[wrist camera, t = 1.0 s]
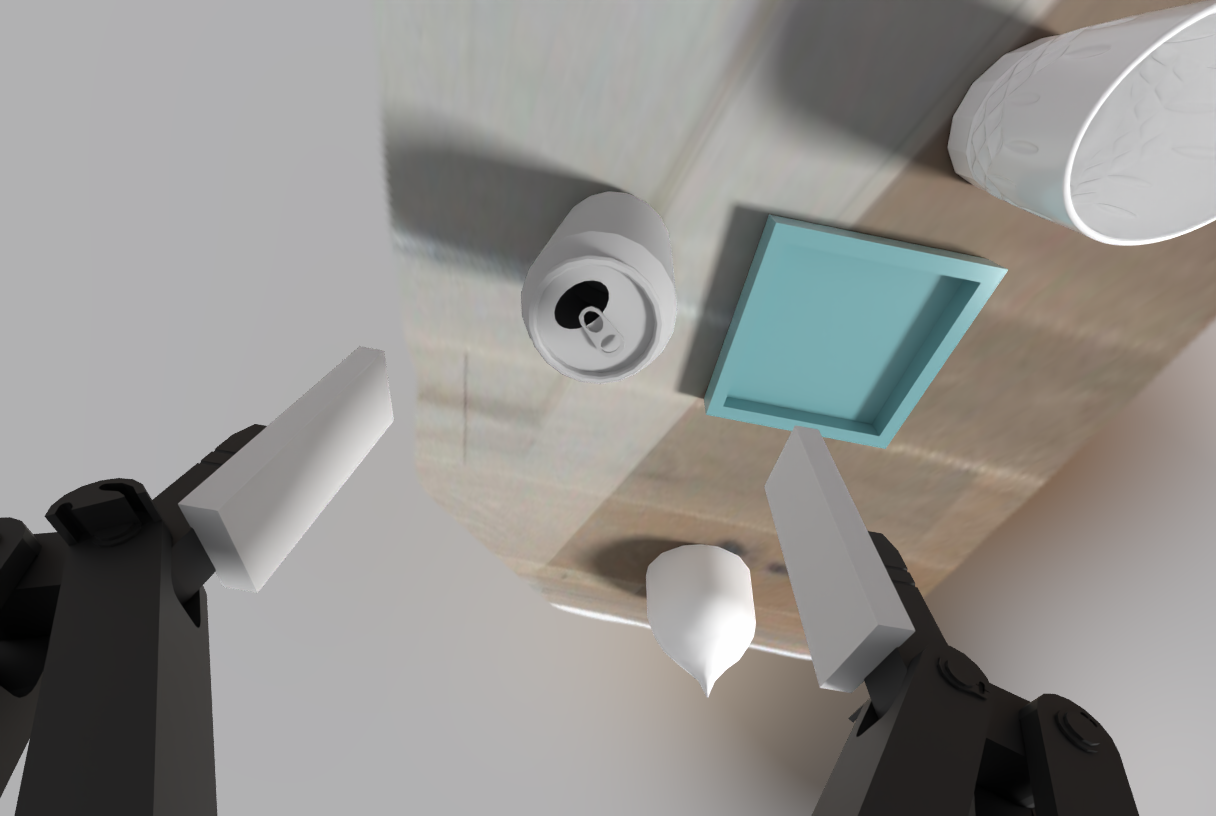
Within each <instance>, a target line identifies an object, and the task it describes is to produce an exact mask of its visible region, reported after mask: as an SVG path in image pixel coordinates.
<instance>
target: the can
mask: <svg viewBox="0 0 1216 816" xmlns="http://www.w3.org/2000/svg"><path fill="white" fill-rule="evenodd" d="M521 304H522V317H523V320H524V323H525V326H526V328H527V331H528V334H529V337H530V338H531V340H532V341H533V344H534V347H535V348H536V349H537V351H538V352H539V353H540V355H541V356H542V357H543V359H544V360H545V361H546V362H547V363H548V364H549V365H551V366H552V367H553V368H555V369H556V370H557V371H558V372H560V373H561V374H563V375H565V376H568V377H570V378H573V379H575V380H578V381H580V382H587V383H596V384H604V383H611V382H617V381H621V380H623V379H625V378H628V377H630V376H632V375H634V374H636V373H638V372H639V371H640V370H641V369H643V368H645V367H647V366H648V365H649V364H650V363H651V362H652V361H653V360H654V359H655V358H656V357H657V356H659V355H660V354H661V353H662V352H663V350H664V348H665V346H666V345H667V343H668V341H669V339H670V337H671V336H672V334H673V332H674V326H675V320H676V315H677V300H676V290H675V280H674V270H673V259H672V250H671V244H670V237H669V232H668V230H667V228H666V226H665V224H664V222H663V220H662V219H661V217H660V215H659V214H658V213H657V212H656V211H655V210H654V209H653V208H652V207H651V206H650V205H649V204H648V203H647V202H645V201H643V200H641V199H639V198H637V197H635V196H633V195H631V194H629V193H620V192H611V191H608V192H604V193H600V194H596V195H592V196H589V197H587V198H586V199H584V200H583V201H581V202H580V203H578V204H577V205H575V206H574V207H573V208H572V210H571V211H570V212H569V214H568V215H567V216H566V217H565V219H564V220H563V221H562V223H561V224H560V226H559V227H558V228H557V230H556V231H555V233H554V234H553V236H552V237H551V238H550V240H549V241H548V243H547V244H546V246H545V247H544V248H543V250H542V251H541V253H540V254H539V255H538V257H537V258H536V260H535V261H534V263H533V264H532V265H531V267H530V268H529V270H528V272H527V276H526V279H525V282H524V285H523V288H522V291H521Z"/></svg>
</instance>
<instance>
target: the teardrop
mask: <svg viewBox="0 0 1216 816" xmlns="http://www.w3.org/2000/svg"><path fill="white" fill-rule="evenodd" d="M646 592H647V617H648V620H649V623H650V626H651V629H652V632H653V634H654V637H655V639H656V641H657V642H658V644H659V645H660V647H661V648H662V650H663V651H664V652H665V653H666V654H667V655H668V656H669V657H670V658H671V659H672V660H674V661H675V662H676V663H677V664H678V665H680V666H681V667H682V668H683V669H684V670H686V671H687V672H688V673H689V674H691V675H692V676H693V677H694V678H695V679H697V680H698V682H699V683H700V685H701V687H702V689H703V691H704V693H705V695H706V696H707V698H708V696H709V694H710V692H711V689H712V687H713V684H714V682H715V681H716V680H717V678H719V677H720V675H721V674H722V673H723V672H724V671H725V670H726V669H727V668H729V667H730V666H732V665H733V664H734V663H736V662H737V661H738V660H739V659H740V658H741V656H742V655H743V654H744V652H745V651H746V649H747V648H748V646H749V644H750V642H751V641H752V639H753V637H754V632H755V625H756V620H755V611H754V603H753V595H752V586H751V578H750V570H749V569H748V567H747V566H746V565H745V563H744V562H743V561H742V560H741V558H740V557H739V556H737V555H735V554H733V553H731V552H729V551H727V550H724V549H722V548H720V547H717V546H710V545H703V544H697V545H683V546H680V547H677V548H674V549H672V550H669V551H666V552H663V553H661V554H660V555H659V556H658V557H657V558H656V559H655V560H654V561H653V562H652V563H651V564H650V565H649V566H648V570H647V573H646Z"/></svg>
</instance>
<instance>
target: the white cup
mask: <svg viewBox="0 0 1216 816" xmlns="http://www.w3.org/2000/svg"><path fill="white" fill-rule="evenodd" d="M947 148H948V151H949V155H950V158H951V161H952V164H953V167H954V171H955V173H957V174H958V175H960V176H961V177H962V178H964V179H965V180H967V181H968V182H969V183H971V184H972V185H974V186H975V187H977V188H980V189H982V190H985V191H987V192H988V193H990V194H991V195H993V196H995V197H997V198H999V199H1001V200H1003V201H1005V202H1008V203H1010V204H1012V205H1014V206H1016V207H1019V208H1021V209H1023V210H1025V211H1027V212H1029V213H1032V214H1034V215H1037V216H1039V217H1041V218H1044V219H1046V220H1049V221H1051V222H1054V223H1056V224H1058V225H1061V226H1063V227H1066V228H1068V229H1070V230H1073V231H1075V232H1078V233H1080V234H1082V235H1085V236H1087V237H1089V238H1092V239H1094V240H1097V241H1099V242H1103V243H1107V244H1112V245H1125V246H1130V245H1143V244H1150V243H1155V242H1160V241H1164V240H1167V239H1171V238H1174V237H1177V236H1180V235H1183V234H1186V233H1188V232H1191V231H1193V230H1195V229H1198V228H1200V227H1202V226H1204V225H1206V224H1208V223H1210V222H1212V221H1214V220H1216V0H1204V1H1199V2H1194V3H1190V4H1185V5H1180V6H1175V7H1171V8H1166V9H1161V10H1156V11H1152V12H1147V13H1142V14H1137V15H1133V16H1129V17H1124V18H1120V19H1117V20H1113V21H1109V22H1106V23H1101V24H1096V25H1092V26H1088V27H1085V28H1081V29H1078V30H1074V31H1071V32H1068V33H1065V34H1061V35H1056V36H1051V37H1046V38H1041V39H1038V40H1036V41H1034V42H1032V43H1029V44H1027V45H1025V46H1023V47H1020V48H1018V49H1016V50H1014V51H1011V52H1009V53H1007V54H1005V55H1003V56H1002V57H1001V58H1000V59H999V60H998V61H996V62H995V63H994V64H993V65H992V66H991V67H990V68H989V69H988V70H987V71H985V72H984V73H983V74H982V75H981V76H980V77H979V78H978V79H977V80H976V81H975V82H973V84H972V85H971V87H970V89H969V90H968V92H967V94H966V95H965V97H964V99H963V100H962V102H961V104H960V106H959V107H958V109H957V111H956V112H955V114H954V116H953V120H952V125H951V131H950V136H949V141H948V147H947Z"/></svg>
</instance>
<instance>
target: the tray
mask: <svg viewBox="0 0 1216 816" xmlns="http://www.w3.org/2000/svg"><path fill="white" fill-rule="evenodd" d="M1007 271H1008V269H1006V268H1004V267H1002V266H1000V265H998V264H996V263H995V262H993V261H991V260H989V259H986V258H981V257H976V256H971V255H966V254H961V253H956V252H951V251H946V250H942V249H937V248H932V247H927V246H922V245H917V244H912V243H907V242H902V241H897V240H892V239H887V238H883V237H878V236H873V235H868V234H863V233H858V232H853V231H848V230H843V229H838V228H833V227H828V226H823V225H819V224H814V223H809V222H804V221H799V220H794V219H789V218H784V217H779V216H774V215H769V216H768V219H767V221H766V224H765V227H764V230H763V233H762V236H761V238H760V241H759V244H758V247H757V250H756V253H755V255H754V258H753V261H752V264H751V267H750V270H749V272H748V275H747V278H746V281H745V284H744V287H743V289H742V292H741V295H740V298H739V301H738V303H737V306H736V309H735V312H734V315H733V318H732V320H731V323H730V326H729V329H728V332H727V335H726V337H725V340H724V343H723V346H722V349H721V352H720V354H719V357H718V360H717V363H716V366H715V368H714V371H713V374H712V377H711V380H710V383H709V385H708V388H707V391H706V394H705V397H704V405H705V411H706V415H711V416H716V417H721V418H727V419H732V420H737V421H742V422H748V423H753V424H758V425H763V426H769V427H774V428H779V429H784V430H790V431H792V430H793V428H794V426H795V425H796V426H802V427H807V428H813V429H818V430H819V432H820V434H821V436H822V437H826V438H832V439H837V440H842V441H847V442H853V443H858V444H863V445H868V446H874V447H879V448H884V449H886V447H887V446H888V444H889V443H890V441H891V440H892V439H893V437H894V436H895V434H896V433H897V431H898V430H899V428H900V427H901V425H902V424H903V423H904V421H905V420H906V418H907V417H908V415H909V414H910V412H911V411H912V409H913V408H914V406H915V405H916V404H917V402H918V401H919V399H920V398H921V396H922V395H923V393H924V392H925V390H926V389H927V388H928V386H929V385H930V383H931V382H932V380H933V379H934V377H935V376H936V374H937V373H938V372H939V370H940V369H941V367H942V366H943V364H944V363H945V361H946V360H947V358H948V357H949V355H950V354H951V353H952V351H953V350H954V348H955V347H956V345H957V344H958V342H959V341H960V339H961V338H962V337H963V335H964V334H965V332H966V331H967V329H968V328H969V326H970V325H971V323H972V322H973V320H974V319H975V318H976V316H977V315H978V313H979V312H980V310H981V309H982V307H983V306H984V304H985V303H986V302H987V300H988V299H989V297H990V296H991V294H992V293H993V291H994V290H995V288H996V287H997V286H998V284H999V283H1000V281H1001V280H1002V278H1003V277H1004V275H1005V274H1006V272H1007Z"/></svg>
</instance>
